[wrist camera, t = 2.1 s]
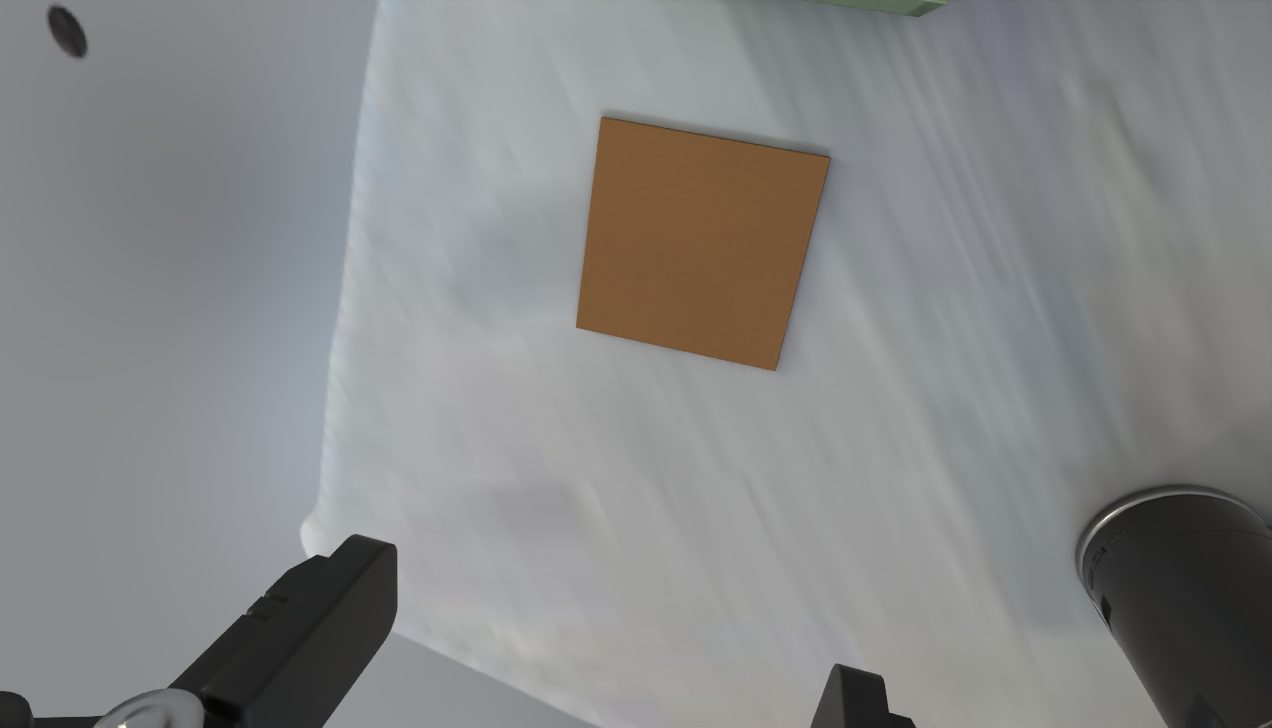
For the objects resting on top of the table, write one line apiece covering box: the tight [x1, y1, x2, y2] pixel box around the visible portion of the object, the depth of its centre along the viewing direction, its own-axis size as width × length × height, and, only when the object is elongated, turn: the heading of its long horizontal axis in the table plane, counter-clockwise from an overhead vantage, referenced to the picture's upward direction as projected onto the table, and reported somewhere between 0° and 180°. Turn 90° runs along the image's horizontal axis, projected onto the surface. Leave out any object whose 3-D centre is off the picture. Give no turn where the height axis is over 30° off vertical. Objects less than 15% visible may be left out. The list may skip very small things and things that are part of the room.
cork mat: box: [576, 117, 830, 371], centre depth 37 cm, size 12×12×1 cm
